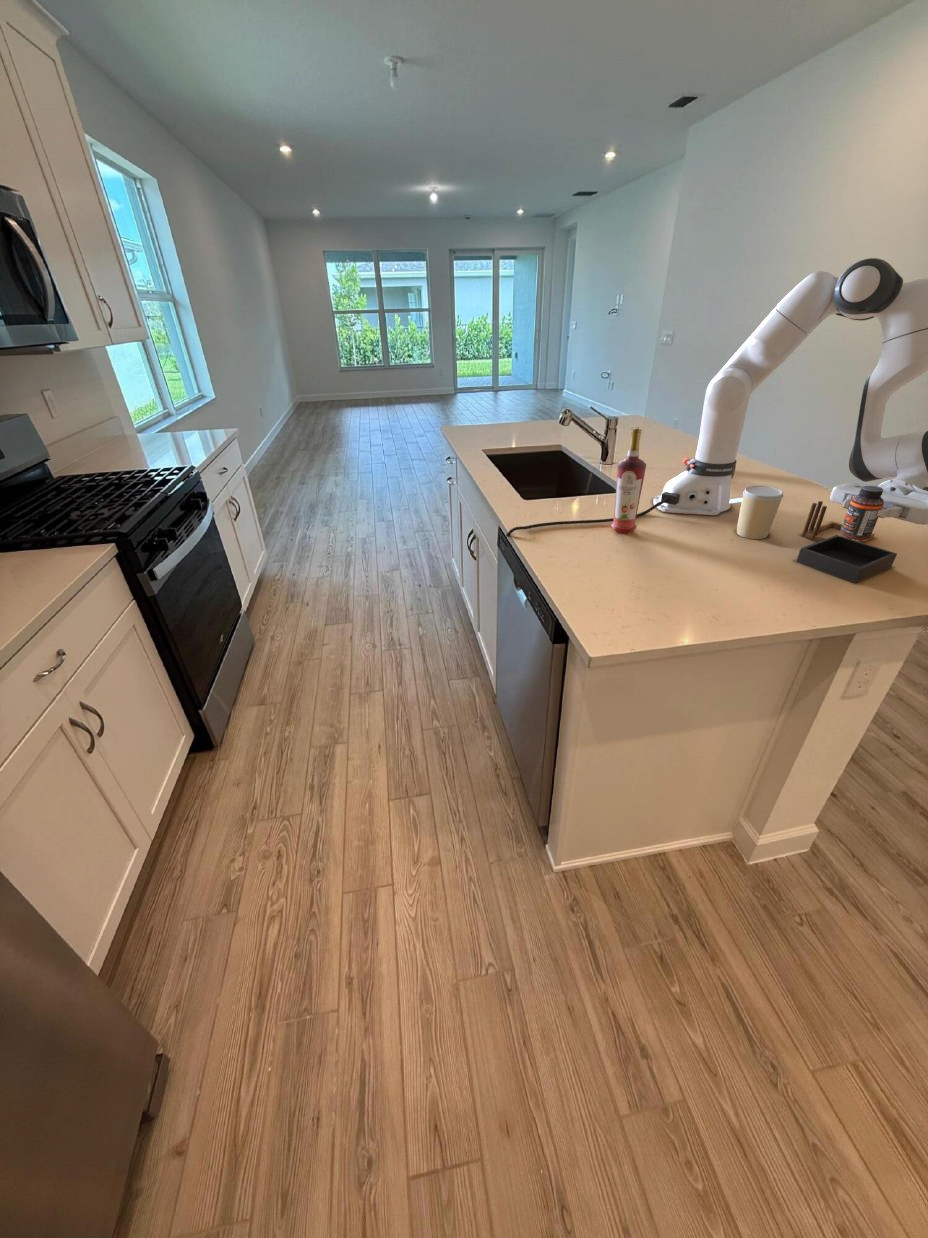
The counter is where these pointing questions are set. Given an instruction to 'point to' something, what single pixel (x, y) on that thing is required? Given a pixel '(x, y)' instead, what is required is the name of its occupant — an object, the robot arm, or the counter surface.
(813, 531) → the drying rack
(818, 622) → the counter surface
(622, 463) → the liquor
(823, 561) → the tray
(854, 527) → the supplement bottle
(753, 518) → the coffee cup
